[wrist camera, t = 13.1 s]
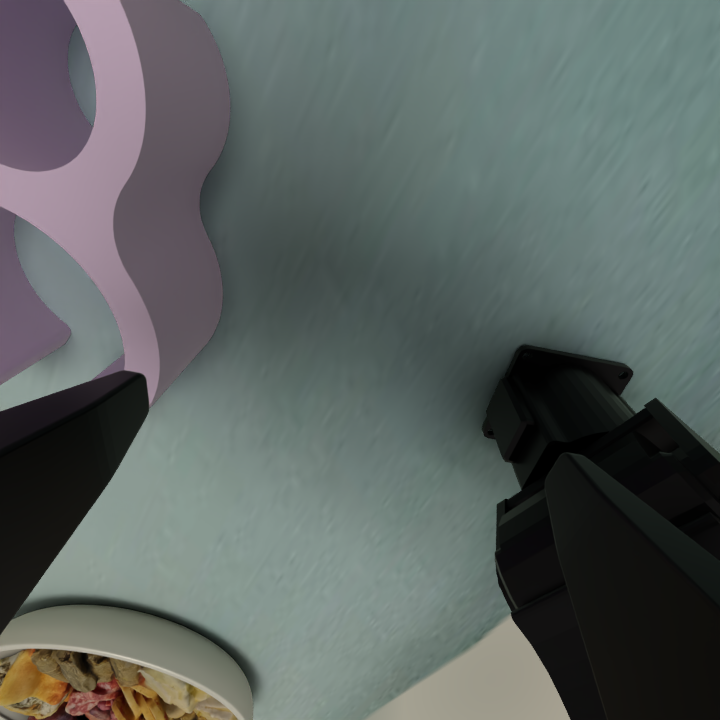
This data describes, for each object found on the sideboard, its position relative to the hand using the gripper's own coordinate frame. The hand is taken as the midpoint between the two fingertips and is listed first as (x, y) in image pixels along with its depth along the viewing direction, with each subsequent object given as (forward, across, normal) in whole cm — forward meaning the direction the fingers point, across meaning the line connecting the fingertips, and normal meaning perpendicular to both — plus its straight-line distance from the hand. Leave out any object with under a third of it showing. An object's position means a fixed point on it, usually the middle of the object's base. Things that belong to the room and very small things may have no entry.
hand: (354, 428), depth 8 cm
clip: (+13, +13, +1) cm, 19 cm away
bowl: (+14, +18, +52) cm, 57 cm away
